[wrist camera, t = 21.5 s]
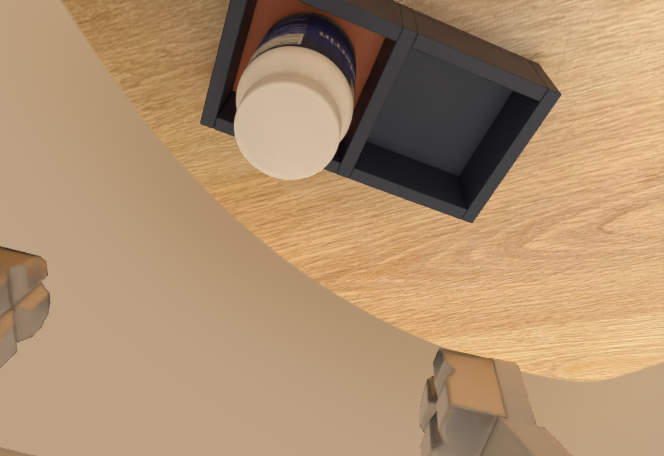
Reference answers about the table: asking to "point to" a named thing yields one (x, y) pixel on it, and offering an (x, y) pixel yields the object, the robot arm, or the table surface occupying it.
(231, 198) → the table surface
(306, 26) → the pill bottle
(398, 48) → the tray
